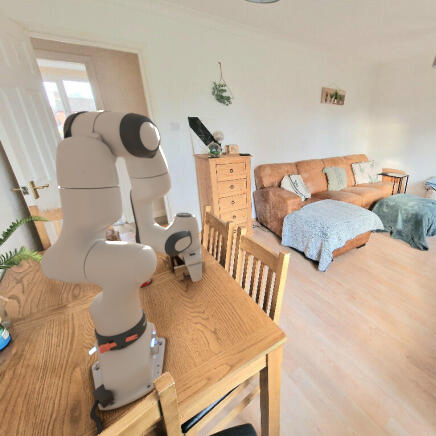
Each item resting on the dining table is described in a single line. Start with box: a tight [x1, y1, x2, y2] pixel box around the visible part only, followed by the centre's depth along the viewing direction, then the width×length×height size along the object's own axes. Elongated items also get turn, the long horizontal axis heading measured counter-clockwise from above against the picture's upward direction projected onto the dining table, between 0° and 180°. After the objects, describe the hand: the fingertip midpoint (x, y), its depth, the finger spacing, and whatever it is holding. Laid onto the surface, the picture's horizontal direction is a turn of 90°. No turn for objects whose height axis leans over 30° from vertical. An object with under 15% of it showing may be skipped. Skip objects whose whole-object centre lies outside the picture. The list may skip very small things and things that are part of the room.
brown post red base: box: [140, 278, 152, 288], centre depth 102 cm, size 6×6×11 cm
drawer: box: [172, 256, 207, 282], centre depth 111 cm, size 20×12×7 cm, turn 32°
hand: (193, 278), depth 102 cm, fingers closed
